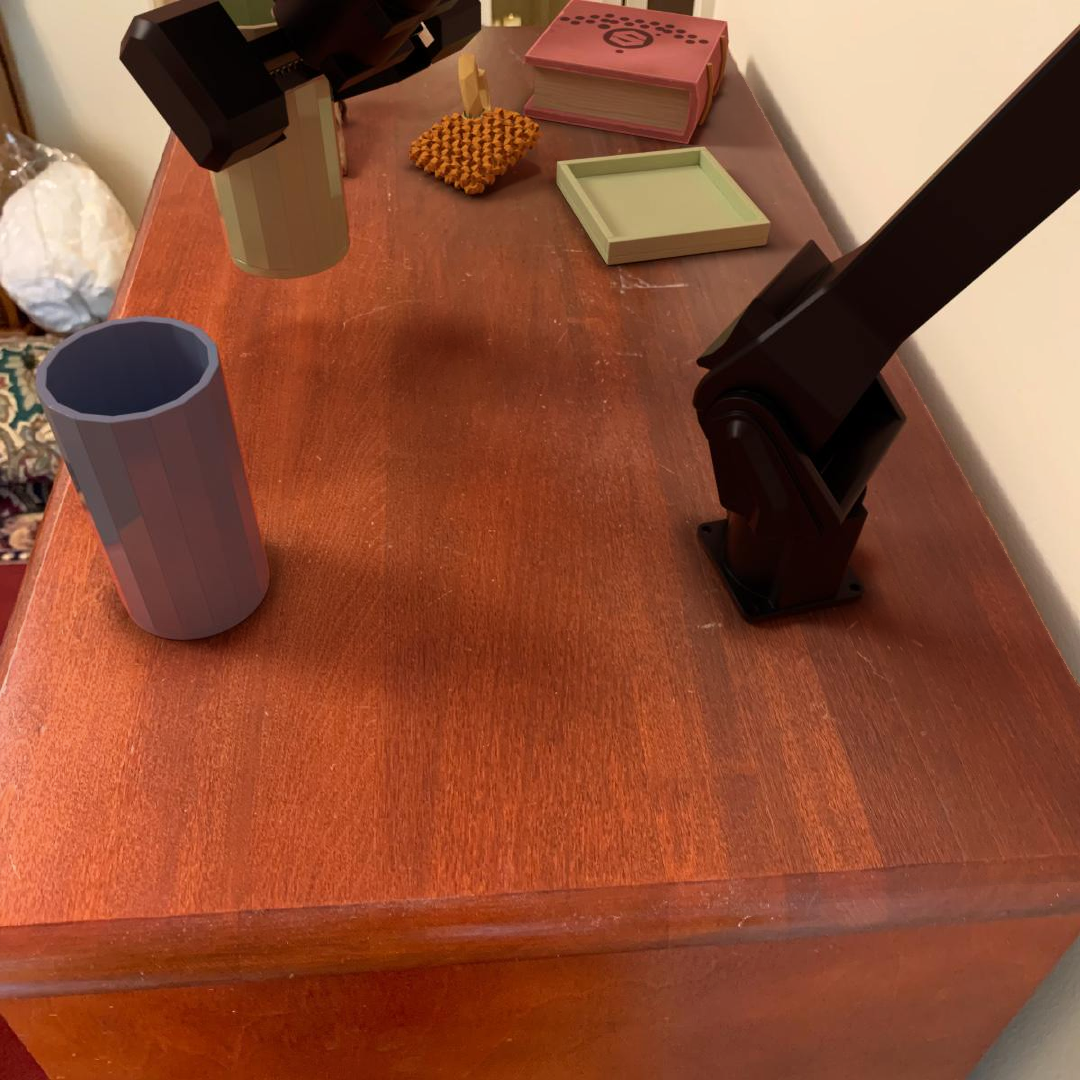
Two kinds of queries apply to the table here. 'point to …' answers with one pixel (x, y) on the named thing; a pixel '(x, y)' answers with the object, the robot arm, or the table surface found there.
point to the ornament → (474, 136)
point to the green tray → (660, 205)
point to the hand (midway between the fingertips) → (251, 125)
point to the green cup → (286, 181)
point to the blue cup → (159, 471)
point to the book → (627, 70)
